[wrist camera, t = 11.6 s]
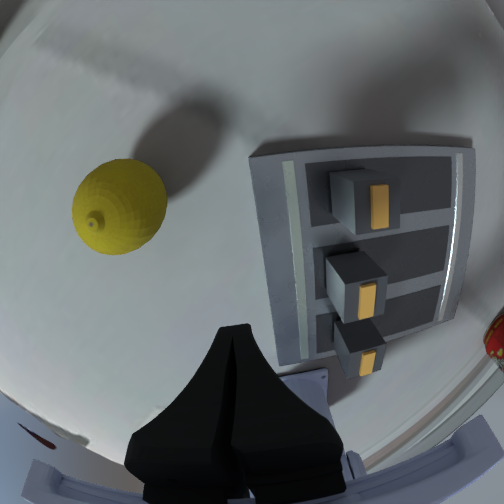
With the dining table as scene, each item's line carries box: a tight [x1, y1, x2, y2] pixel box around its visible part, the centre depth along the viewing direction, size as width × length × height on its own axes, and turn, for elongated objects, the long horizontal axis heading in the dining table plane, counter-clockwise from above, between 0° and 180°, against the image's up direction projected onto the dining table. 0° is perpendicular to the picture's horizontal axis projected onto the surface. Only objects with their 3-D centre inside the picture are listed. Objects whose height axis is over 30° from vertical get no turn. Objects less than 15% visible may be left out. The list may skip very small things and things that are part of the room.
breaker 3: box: [334, 318, 386, 379], centre depth 20 cm, size 3×3×4 cm
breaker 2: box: [326, 251, 388, 324], centre depth 18 cm, size 3×3×4 cm
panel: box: [248, 145, 476, 366], centre depth 21 cm, size 18×20×2 cm
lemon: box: [72, 159, 167, 255], centre depth 15 cm, size 6×6×8 cm
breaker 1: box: [329, 169, 400, 235], centre depth 16 cm, size 3×3×4 cm
